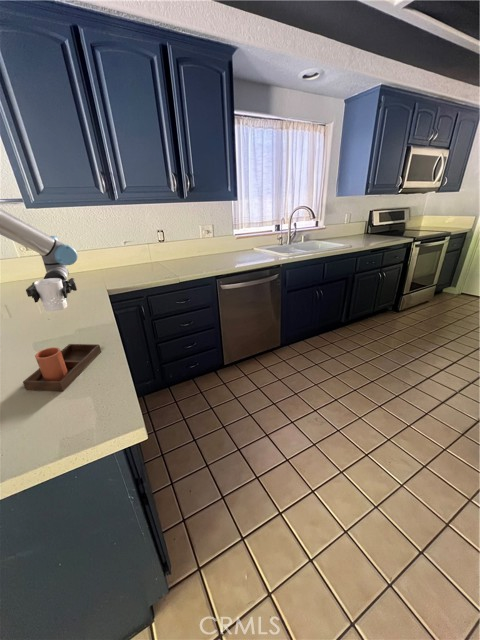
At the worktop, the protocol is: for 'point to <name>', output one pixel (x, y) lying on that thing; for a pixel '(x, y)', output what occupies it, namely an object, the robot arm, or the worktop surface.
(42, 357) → the terracotta cup
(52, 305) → the white cup
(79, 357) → the tray
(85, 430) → the worktop surface
